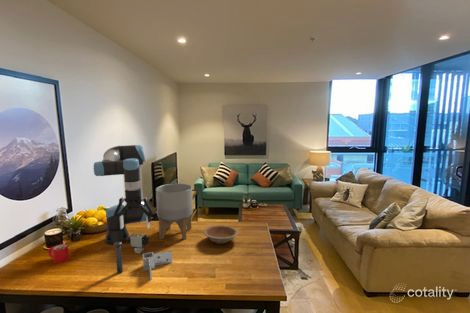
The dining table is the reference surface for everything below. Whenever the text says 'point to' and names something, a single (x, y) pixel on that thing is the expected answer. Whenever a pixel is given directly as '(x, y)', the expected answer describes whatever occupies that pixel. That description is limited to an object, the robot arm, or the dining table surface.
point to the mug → (59, 253)
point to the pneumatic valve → (138, 242)
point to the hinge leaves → (156, 260)
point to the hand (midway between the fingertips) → (135, 227)
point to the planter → (174, 207)
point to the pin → (118, 256)
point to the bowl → (220, 233)
